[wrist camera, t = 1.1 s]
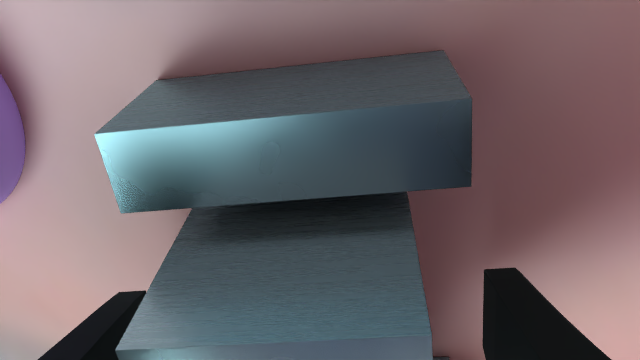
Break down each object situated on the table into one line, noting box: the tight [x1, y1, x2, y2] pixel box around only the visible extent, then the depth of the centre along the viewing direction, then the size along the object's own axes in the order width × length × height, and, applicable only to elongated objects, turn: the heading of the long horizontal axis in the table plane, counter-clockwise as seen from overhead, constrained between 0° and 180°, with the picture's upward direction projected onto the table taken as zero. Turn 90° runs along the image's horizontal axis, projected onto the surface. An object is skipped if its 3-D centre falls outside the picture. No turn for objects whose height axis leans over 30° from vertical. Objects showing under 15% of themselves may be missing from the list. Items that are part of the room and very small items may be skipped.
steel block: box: [115, 191, 433, 360], centre depth 11 cm, size 4×6×6 cm, turn 7°
